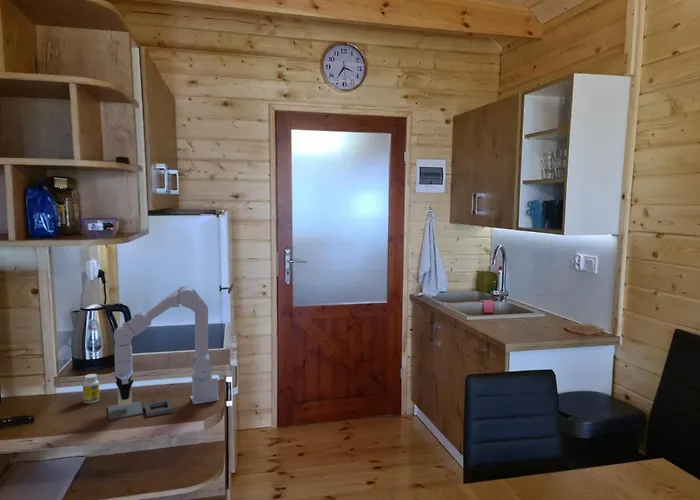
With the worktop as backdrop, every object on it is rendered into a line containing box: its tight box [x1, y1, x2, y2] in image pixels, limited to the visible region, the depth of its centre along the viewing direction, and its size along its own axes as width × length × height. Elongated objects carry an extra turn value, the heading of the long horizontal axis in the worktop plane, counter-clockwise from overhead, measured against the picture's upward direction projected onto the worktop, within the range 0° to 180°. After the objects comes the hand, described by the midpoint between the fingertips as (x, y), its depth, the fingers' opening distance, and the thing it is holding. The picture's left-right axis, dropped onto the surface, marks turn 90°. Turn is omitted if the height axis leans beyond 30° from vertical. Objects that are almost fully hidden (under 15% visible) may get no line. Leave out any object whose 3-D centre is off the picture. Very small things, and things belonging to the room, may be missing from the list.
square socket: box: [144, 398, 175, 418], centre depth 180 cm, size 9×9×2 cm
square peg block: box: [117, 385, 133, 406], centre depth 178 cm, size 4×4×7 cm
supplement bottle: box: [82, 373, 100, 404], centre depth 186 cm, size 5×5×10 cm
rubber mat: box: [107, 400, 144, 421], centre depth 179 cm, size 11×11×1 cm
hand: (124, 396), depth 178 cm, fingers closed on square peg block, 4 cm apart
